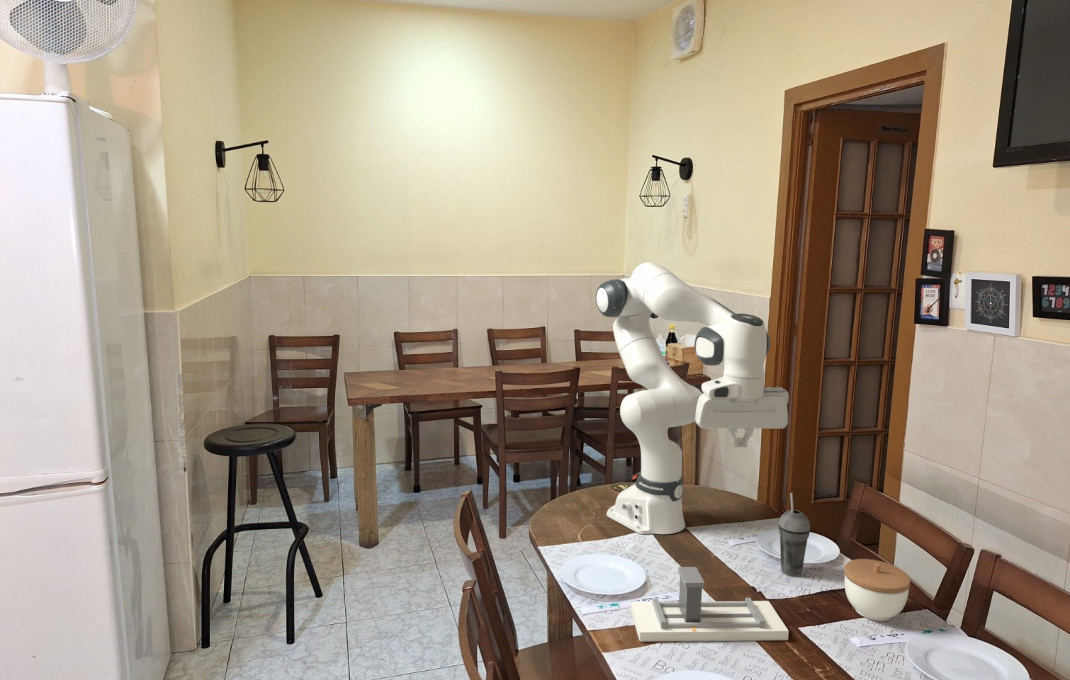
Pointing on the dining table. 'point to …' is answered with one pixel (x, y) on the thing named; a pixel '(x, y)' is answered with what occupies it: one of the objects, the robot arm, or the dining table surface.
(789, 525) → the beverage cup
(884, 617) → the lidded bowl
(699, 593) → the fader tab
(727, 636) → the fader console
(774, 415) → the robot arm
